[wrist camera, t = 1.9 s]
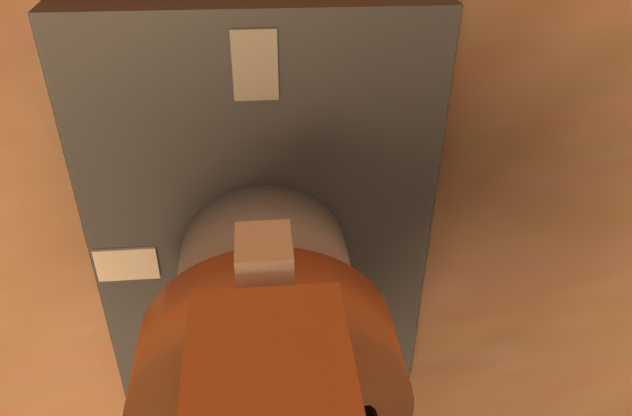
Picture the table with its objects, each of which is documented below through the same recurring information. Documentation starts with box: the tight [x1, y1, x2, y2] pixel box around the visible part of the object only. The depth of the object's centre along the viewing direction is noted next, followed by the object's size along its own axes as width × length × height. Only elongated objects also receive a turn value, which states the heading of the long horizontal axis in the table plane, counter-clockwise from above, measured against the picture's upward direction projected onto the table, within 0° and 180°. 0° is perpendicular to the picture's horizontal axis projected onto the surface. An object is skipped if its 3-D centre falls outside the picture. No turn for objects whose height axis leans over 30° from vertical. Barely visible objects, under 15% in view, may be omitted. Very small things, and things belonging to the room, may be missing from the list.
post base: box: [28, 0, 463, 396], centre depth 15 cm, size 13×9×4 cm
